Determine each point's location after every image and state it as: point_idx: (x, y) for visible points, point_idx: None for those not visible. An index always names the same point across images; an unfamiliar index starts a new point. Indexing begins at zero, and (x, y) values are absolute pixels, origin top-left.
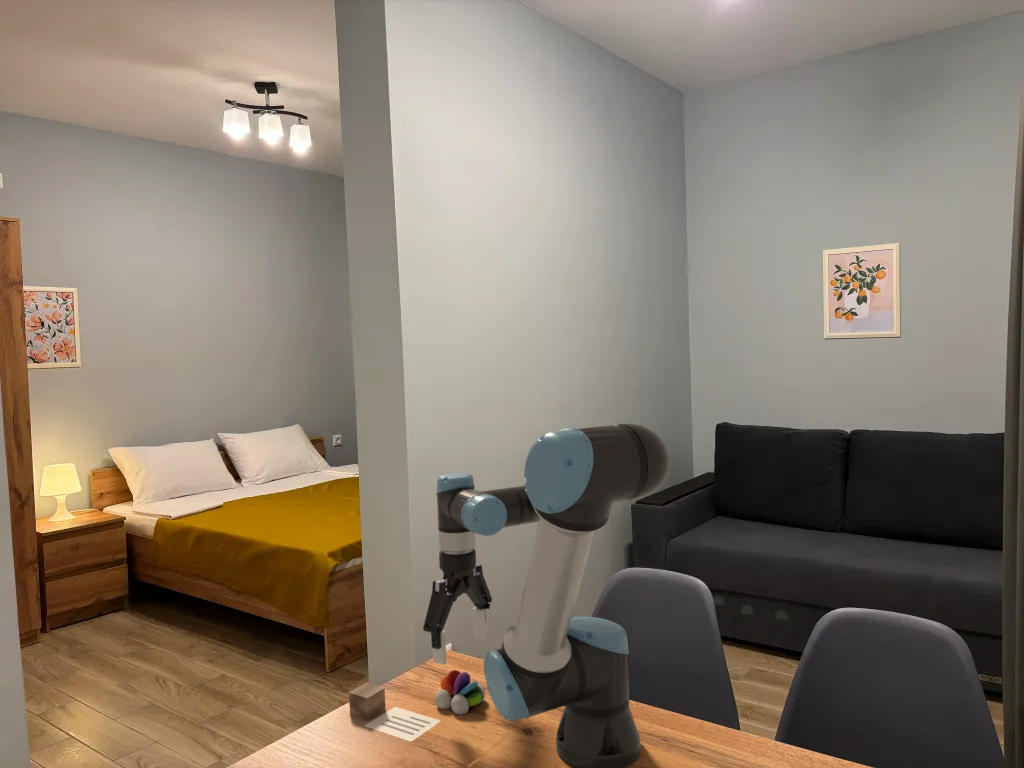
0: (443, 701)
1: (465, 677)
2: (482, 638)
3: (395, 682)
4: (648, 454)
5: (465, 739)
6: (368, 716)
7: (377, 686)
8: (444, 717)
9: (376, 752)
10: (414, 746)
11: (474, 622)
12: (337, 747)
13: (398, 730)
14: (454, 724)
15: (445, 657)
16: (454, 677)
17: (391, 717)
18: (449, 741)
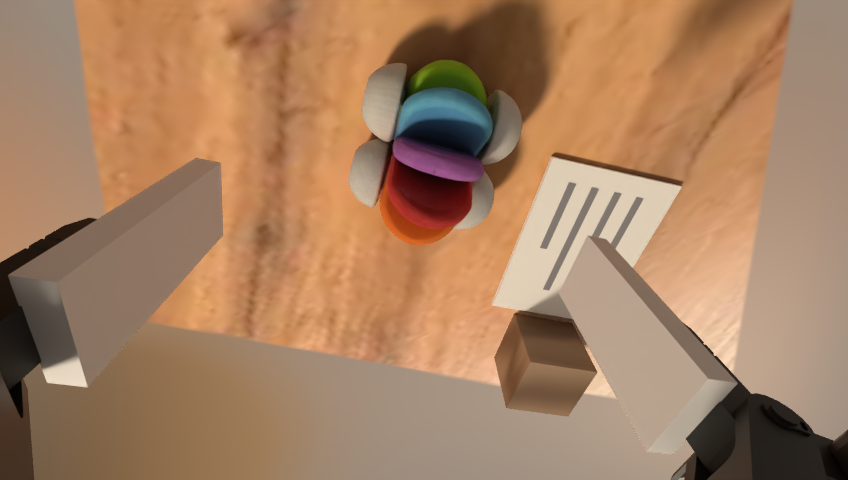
0: (493, 189)
1: (440, 151)
2: (215, 176)
3: (360, 358)
4: None
5: (657, 23)
6: (575, 333)
7: (523, 379)
8: (518, 160)
9: (720, 245)
10: (695, 168)
11: (166, 285)
12: (689, 327)
13: (618, 244)
14: (558, 108)
15: (608, 255)
16: (438, 199)
17: (551, 288)
18: (670, 76)
